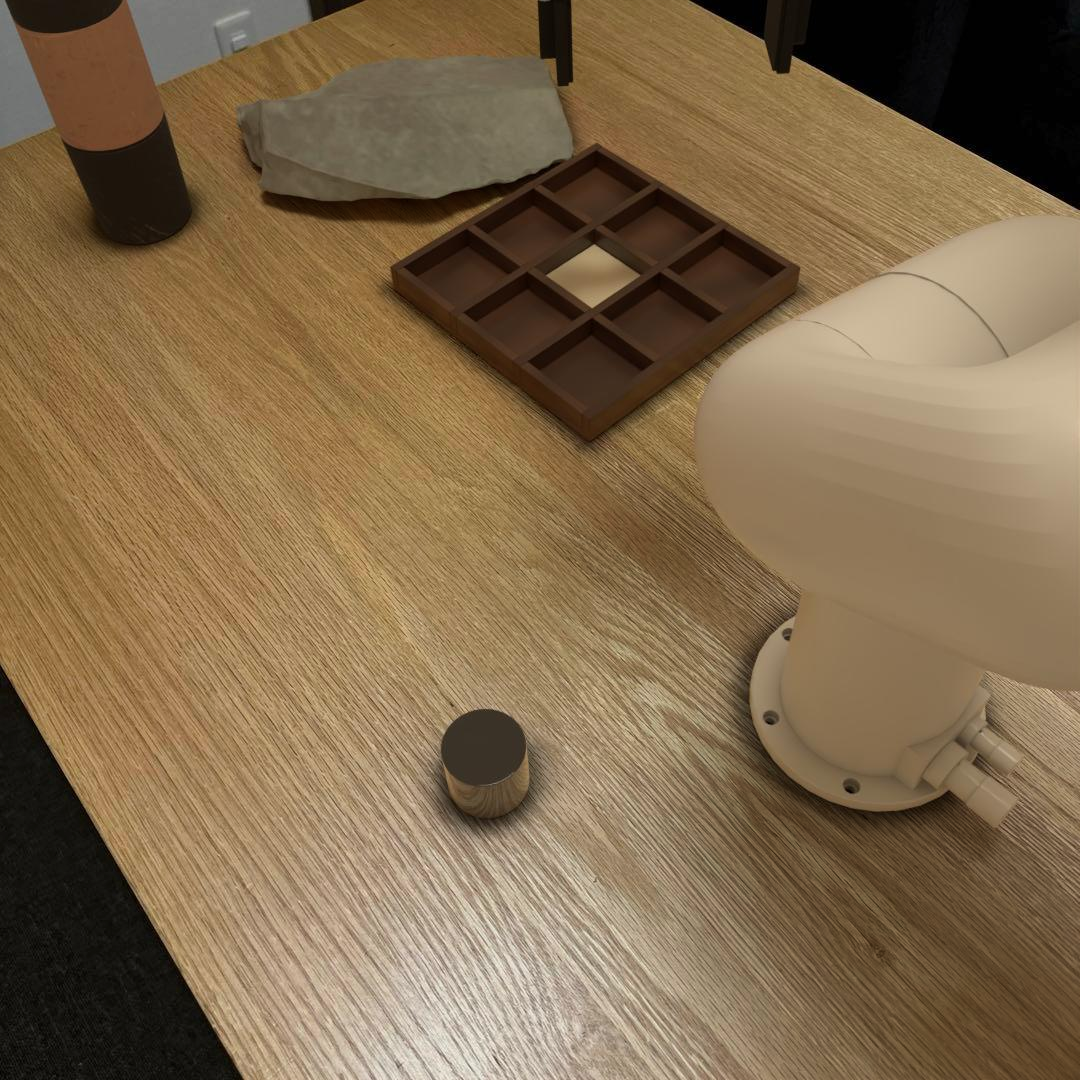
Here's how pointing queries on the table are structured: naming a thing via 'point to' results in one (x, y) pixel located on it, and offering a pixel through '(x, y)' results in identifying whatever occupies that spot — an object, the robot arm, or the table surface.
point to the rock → (410, 129)
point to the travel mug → (107, 113)
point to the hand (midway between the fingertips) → (669, 63)
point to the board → (594, 286)
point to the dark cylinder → (485, 763)
